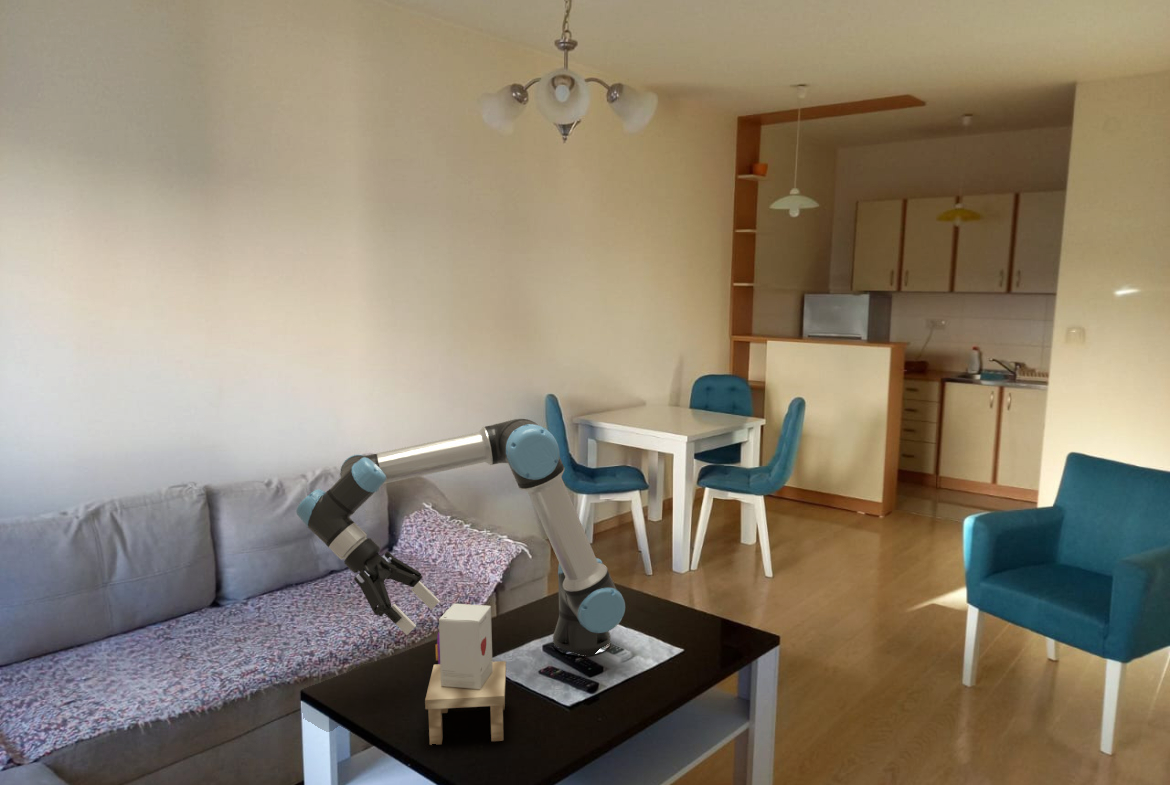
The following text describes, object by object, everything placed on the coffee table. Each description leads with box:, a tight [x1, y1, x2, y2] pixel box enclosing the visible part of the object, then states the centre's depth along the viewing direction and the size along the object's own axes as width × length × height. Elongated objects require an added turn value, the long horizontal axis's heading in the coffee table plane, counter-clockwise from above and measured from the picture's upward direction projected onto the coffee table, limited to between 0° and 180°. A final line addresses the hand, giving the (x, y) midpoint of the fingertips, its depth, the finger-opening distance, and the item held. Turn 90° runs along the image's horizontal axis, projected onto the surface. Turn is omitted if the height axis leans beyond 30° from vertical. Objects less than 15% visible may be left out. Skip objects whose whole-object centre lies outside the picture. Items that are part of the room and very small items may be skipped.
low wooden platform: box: [424, 660, 507, 746], centre depth 173 cm, size 16×16×10 cm
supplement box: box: [438, 603, 493, 689], centre depth 172 cm, size 9×9×15 cm
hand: (424, 617), depth 175 cm, fingers open, 13 cm apart
